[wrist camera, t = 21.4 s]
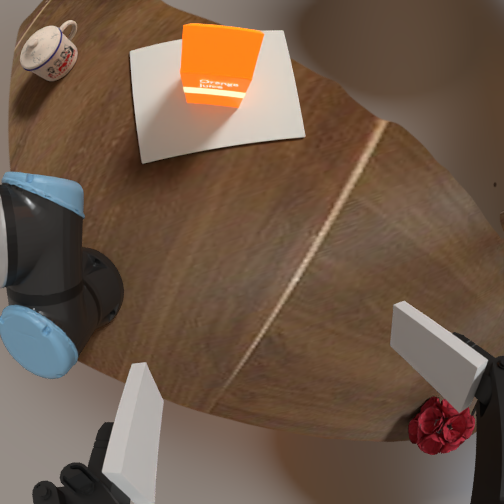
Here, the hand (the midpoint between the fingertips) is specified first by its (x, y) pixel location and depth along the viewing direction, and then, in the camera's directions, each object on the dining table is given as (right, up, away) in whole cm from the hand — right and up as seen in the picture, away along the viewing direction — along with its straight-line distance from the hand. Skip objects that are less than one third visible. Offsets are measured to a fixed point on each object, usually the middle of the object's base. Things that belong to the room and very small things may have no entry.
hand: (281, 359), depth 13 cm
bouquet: (+61, -50, +61) cm, 100 cm away
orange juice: (-7, +33, +28) cm, 44 cm away
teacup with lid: (-38, +43, +22) cm, 61 cm away
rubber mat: (-8, +33, +29) cm, 44 cm away
